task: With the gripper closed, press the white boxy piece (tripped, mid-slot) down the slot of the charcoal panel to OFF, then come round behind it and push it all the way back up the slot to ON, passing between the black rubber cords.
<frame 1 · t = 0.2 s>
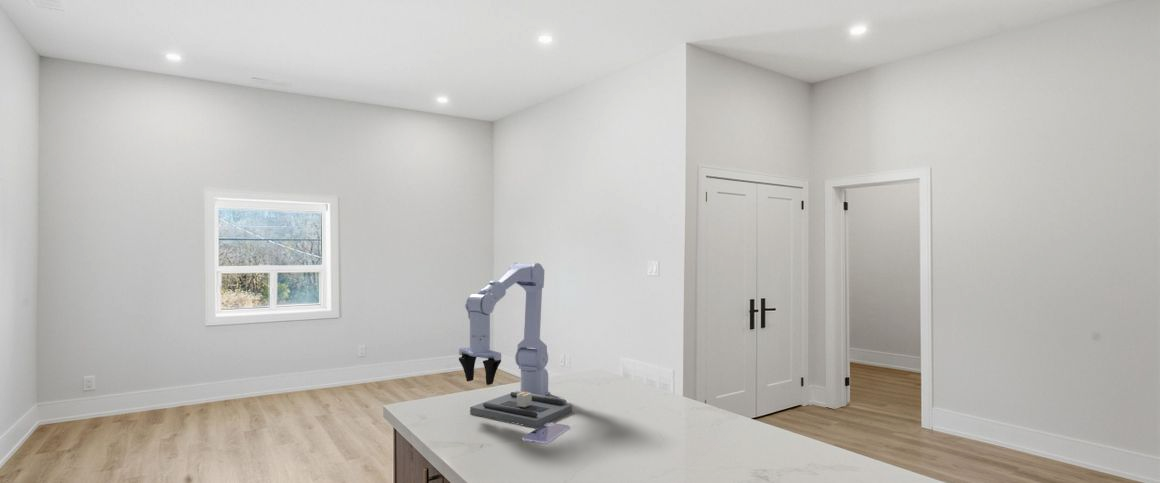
hand: (479, 382, 168), 10 cm above the table, fingers open, 7 cm apart
mobile phone: (546, 435, 154), on the table
panel: (521, 412, 172), on the table
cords: (524, 403, 173), on the panel, point 2 cm above the table
white boxy piece: (524, 399, 172), point 4 cm above the table, slide at 5.0 cm
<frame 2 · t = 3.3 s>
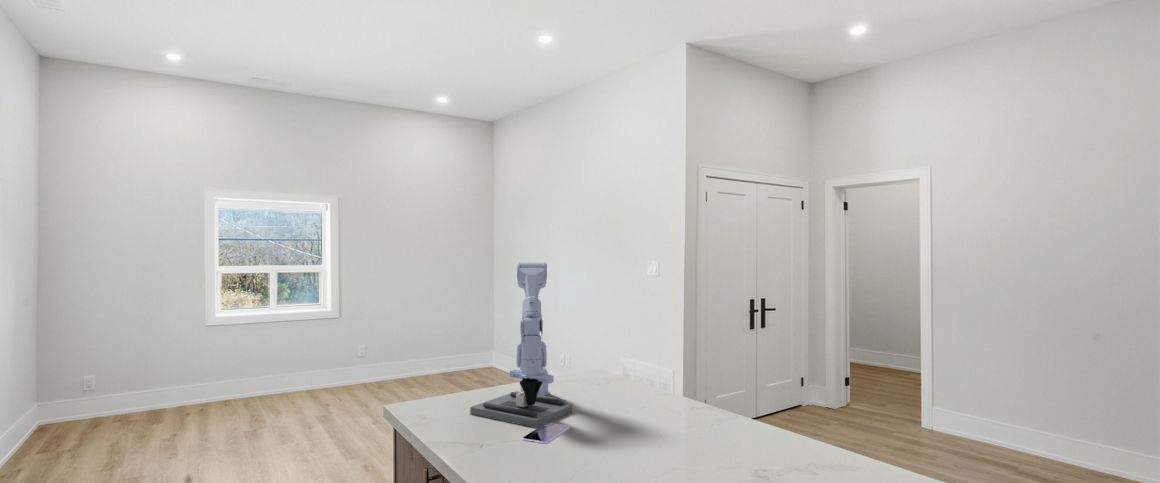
hand: (531, 404, 170), 3 cm above the table, fingers closed
white boxy piece: (523, 398, 172), point 4 cm above the table, slide at 4.7 cm, touching gripper
everything else where it was.
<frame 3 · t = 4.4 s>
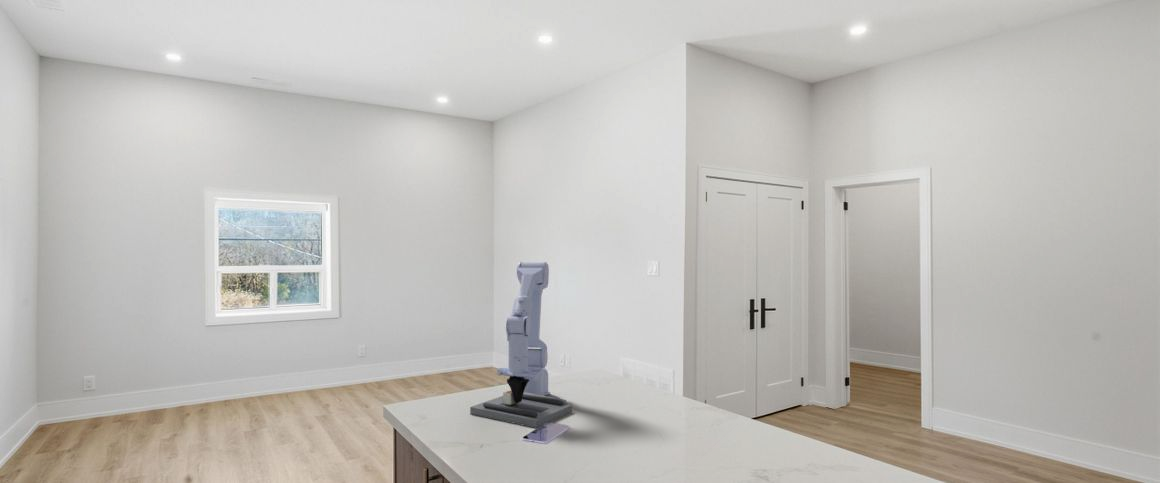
hand: (517, 402, 173), 3 cm above the table, fingers closed
white boxy piece: (510, 396, 174), point 4 cm above the table, slide at -0.1 cm, touching gripper
everything else where it was.
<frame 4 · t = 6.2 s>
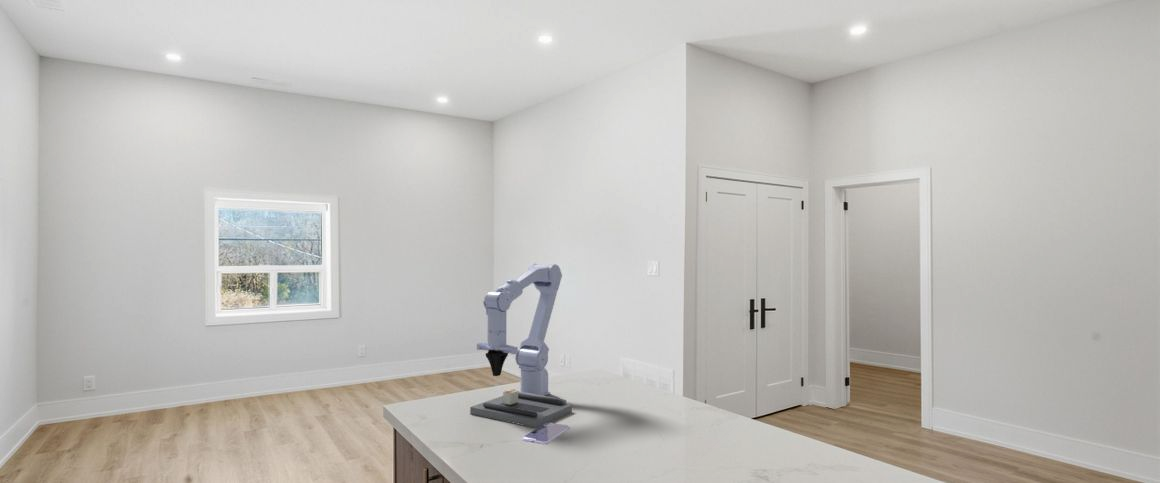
hand: (496, 375, 177), 10 cm above the table, fingers closed
white boxy piece: (510, 396, 174), point 4 cm above the table, slide at -0.1 cm
everything else where it was.
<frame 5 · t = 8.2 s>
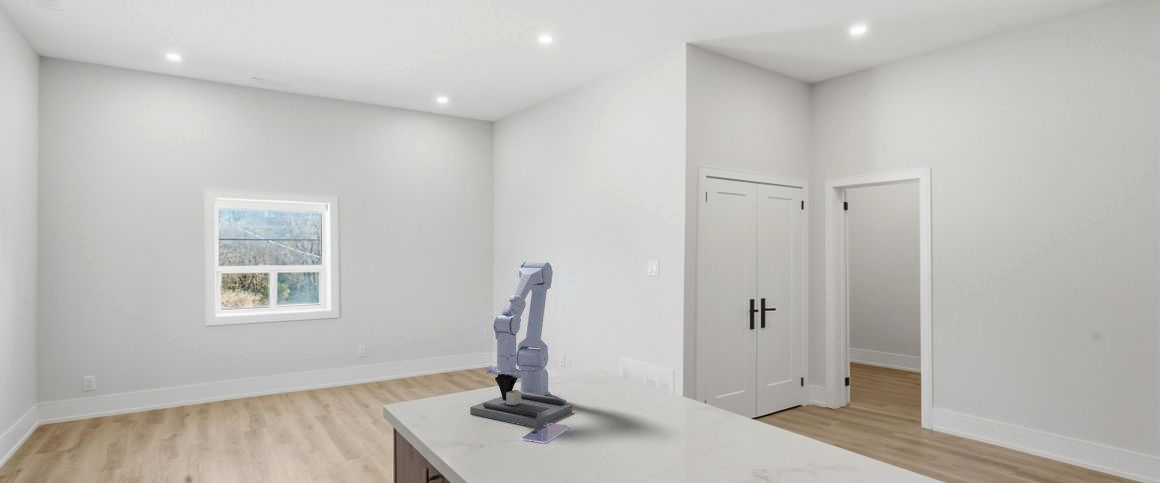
hand: (506, 399, 175), 3 cm above the table, fingers closed
white boxy piece: (513, 397, 174), point 4 cm above the table, slide at 1.1 cm, touching gripper
everything else where it was.
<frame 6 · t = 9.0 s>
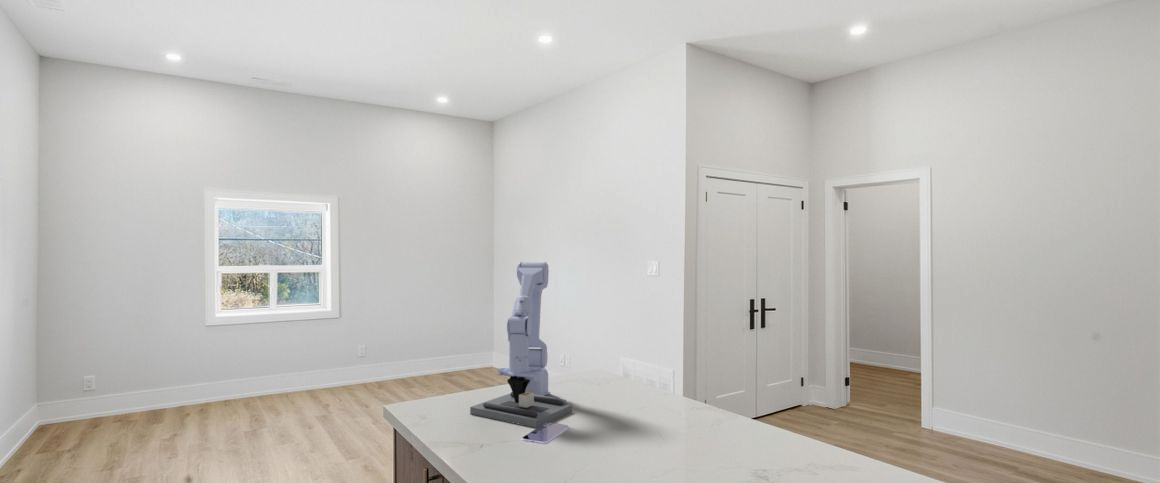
hand: (518, 402, 173), 3 cm above the table, fingers closed
white boxy piece: (526, 399, 171), point 4 cm above the table, slide at 5.8 cm, touching gripper
everything else where it was.
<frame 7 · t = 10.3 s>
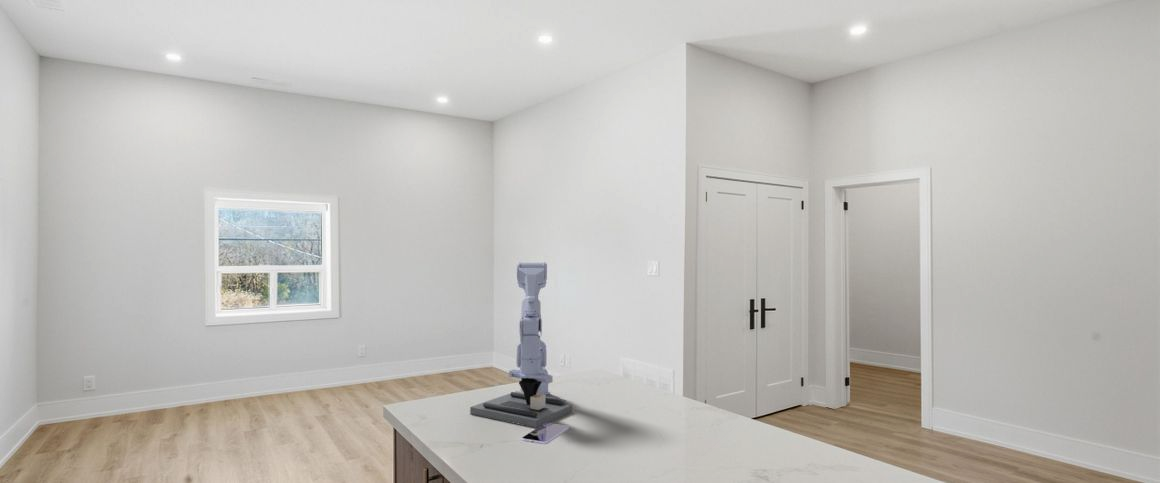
hand: (530, 404, 170), 3 cm above the table, fingers closed
white boxy piece: (537, 401, 169), point 4 cm above the table, slide at 10.0 cm, touching gripper
everything else where it was.
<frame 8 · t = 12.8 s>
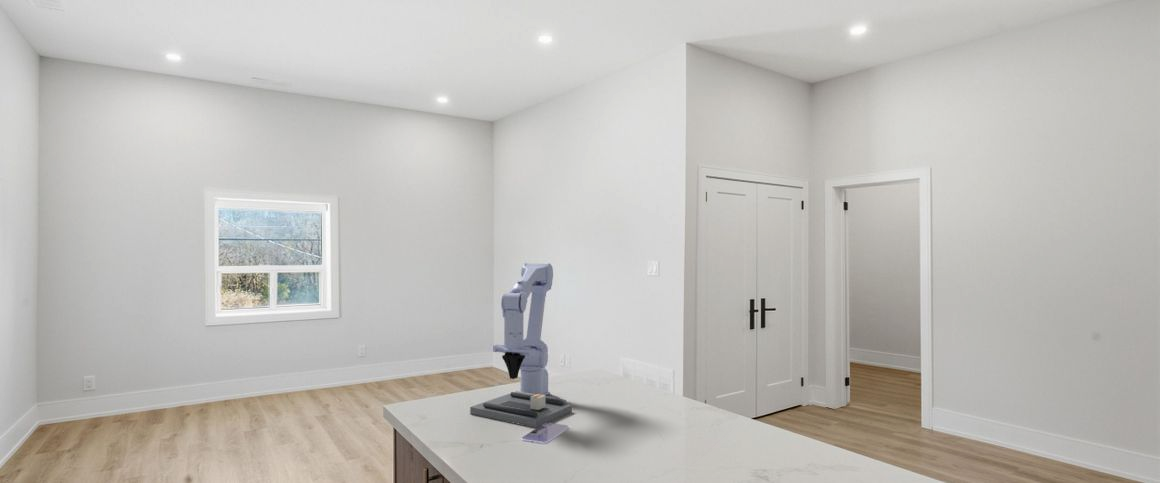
hand: (513, 378, 174), 10 cm above the table, fingers closed
white boxy piece: (537, 401, 169), point 4 cm above the table, slide at 10.0 cm
everything else where it was.
at the end: white boxy piece slide at 10.0 cm; white boxy piece touching nothing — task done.
